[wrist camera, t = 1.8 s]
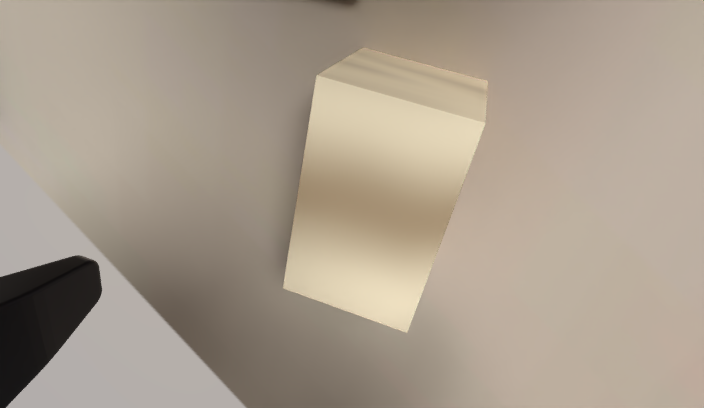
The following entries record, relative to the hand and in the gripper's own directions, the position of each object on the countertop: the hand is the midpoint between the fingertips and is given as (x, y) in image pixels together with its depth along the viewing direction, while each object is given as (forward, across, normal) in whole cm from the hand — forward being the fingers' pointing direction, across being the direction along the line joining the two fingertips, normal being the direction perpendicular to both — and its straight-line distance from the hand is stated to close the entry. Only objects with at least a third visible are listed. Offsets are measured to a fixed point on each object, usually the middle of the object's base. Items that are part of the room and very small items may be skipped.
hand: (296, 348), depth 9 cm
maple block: (+10, 0, 0) cm, 10 cm away
